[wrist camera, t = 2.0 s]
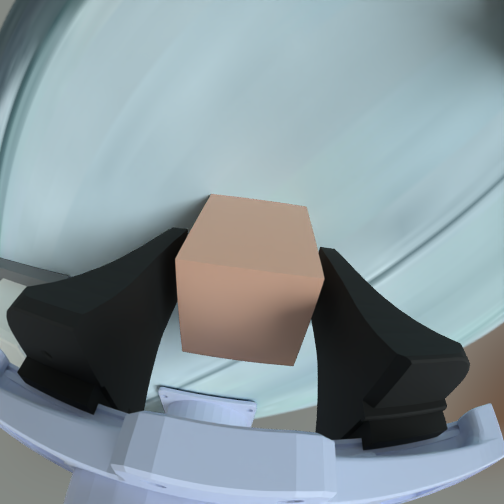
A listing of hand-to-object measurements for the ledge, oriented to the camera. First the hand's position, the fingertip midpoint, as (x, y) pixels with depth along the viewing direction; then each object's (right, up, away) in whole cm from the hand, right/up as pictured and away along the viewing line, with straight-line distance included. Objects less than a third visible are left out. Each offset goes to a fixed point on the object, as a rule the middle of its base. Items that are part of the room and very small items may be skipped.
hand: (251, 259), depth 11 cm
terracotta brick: (0, +1, +1) cm, 2 cm away
